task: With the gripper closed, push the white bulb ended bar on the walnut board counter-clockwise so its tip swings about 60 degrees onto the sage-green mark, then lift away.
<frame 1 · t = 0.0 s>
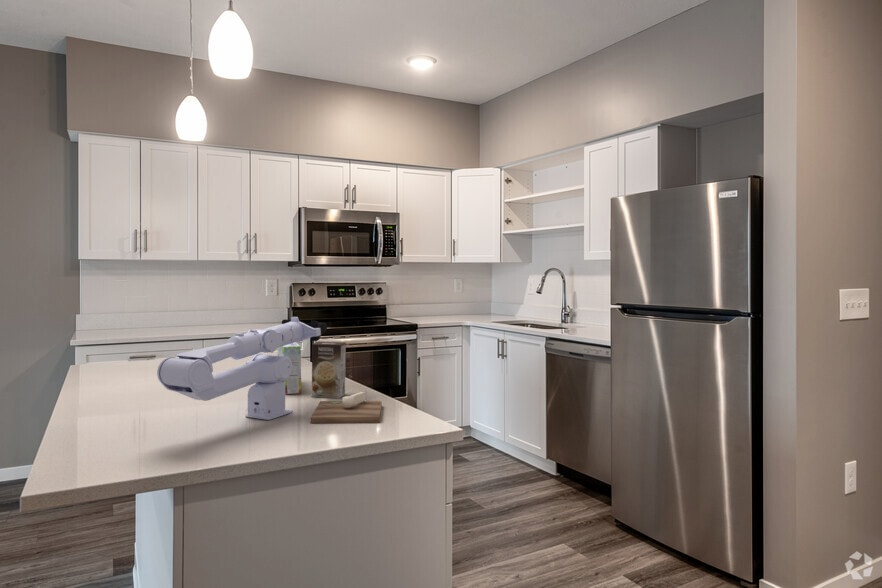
hand: (314, 326, 171), 22 cm above the worktop, tool horizontal, fingers open, 7 cm apart
white bulb ended bar: (355, 398, 159), point 3 cm above the worktop, hinge at 0.0°
coffee box: (328, 396, 178), on the worktop
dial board: (348, 414, 156), on the worktop
snack box: (289, 388, 189), on the worktop
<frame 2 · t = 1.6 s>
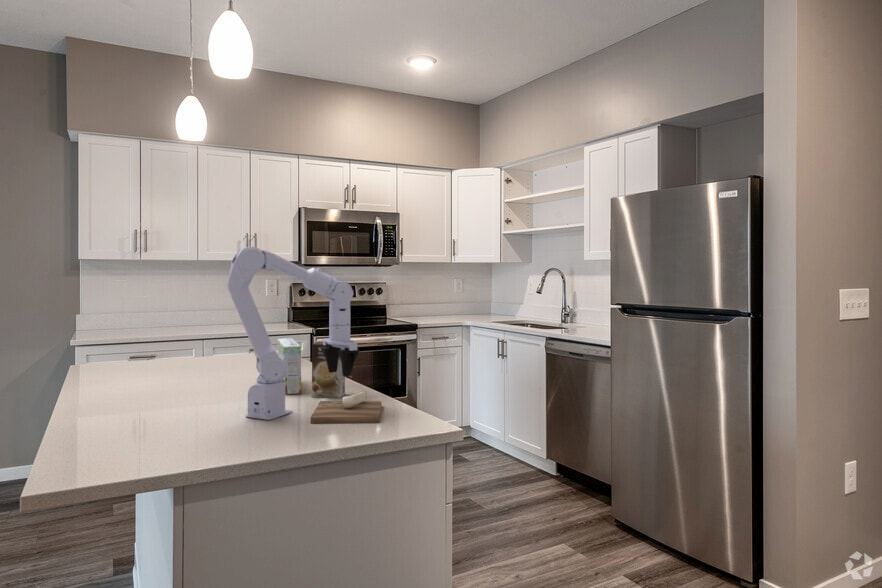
hand: (339, 373, 162), 9 cm above the worktop, tool pointing down, fingers open, 7 cm apart
nothing on the worktop moved.
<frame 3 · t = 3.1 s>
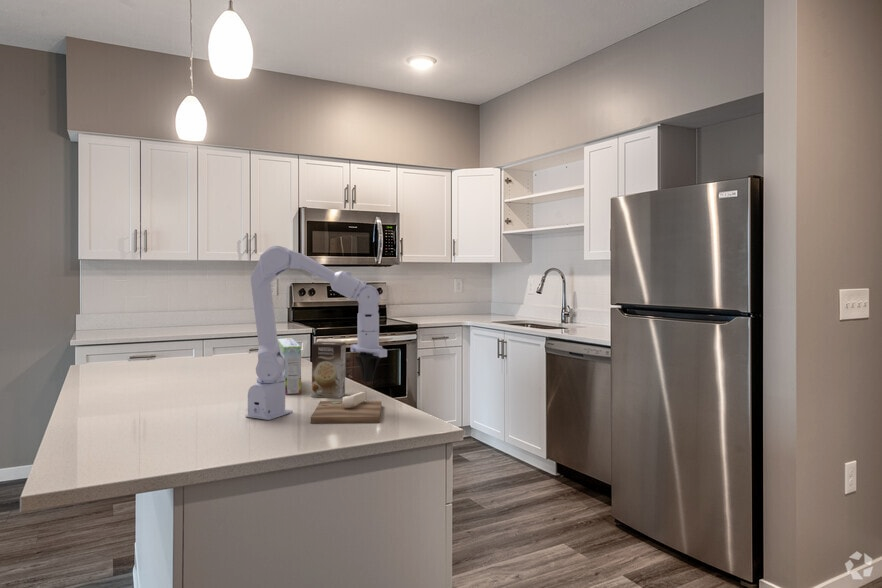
hand: (368, 381, 158), 8 cm above the worktop, tool pointing down, fingers closed
nothing on the worktop moved.
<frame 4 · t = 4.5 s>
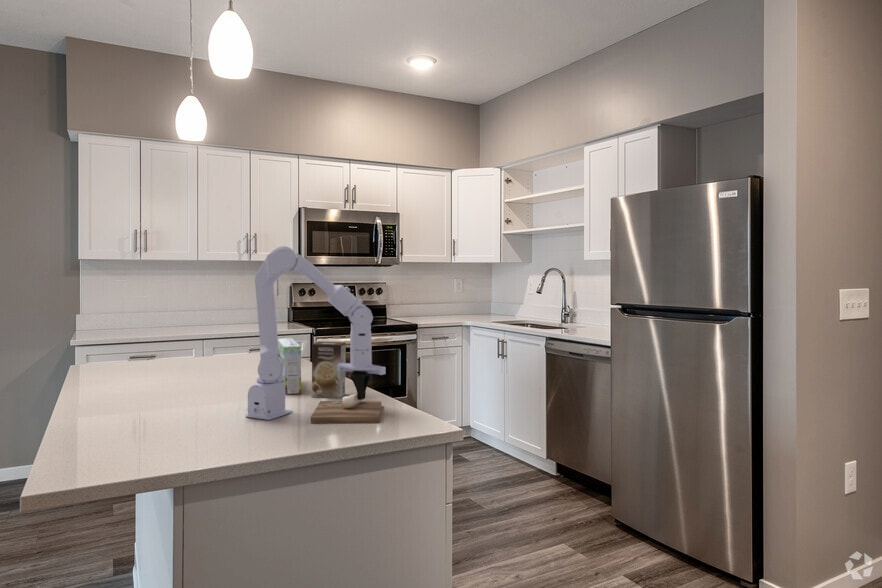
hand: (361, 399, 160), 3 cm above the worktop, tool pointing down, fingers closed, pressing on white bulb ended bar
white bulb ended bar: (354, 398, 159), point 3 cm above the worktop, hinge at 6.5°, touching gripper
everything else where it was.
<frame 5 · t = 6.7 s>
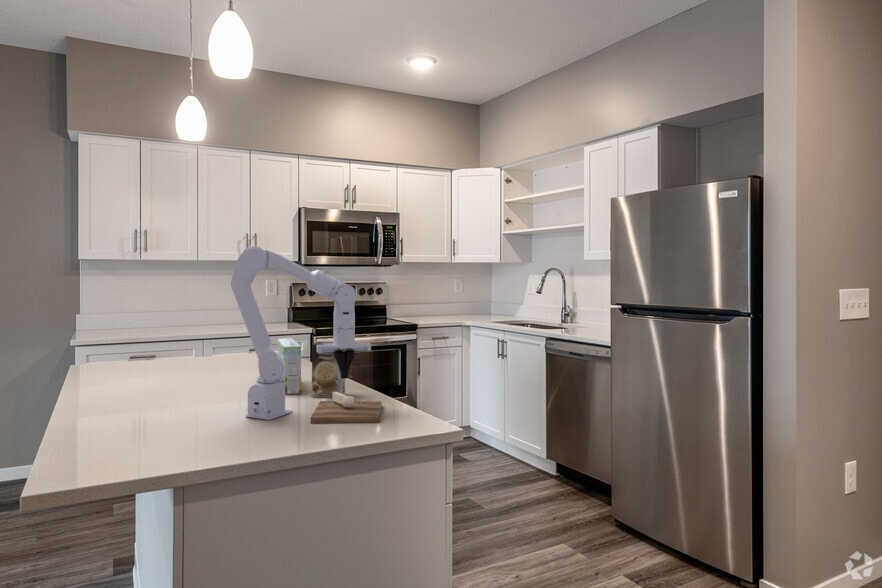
hand: (343, 378, 160), 9 cm above the worktop, tool pointing down, fingers closed
white bulb ended bar: (342, 399, 158), point 3 cm above the worktop, hinge at 60.9°
everything else where it was.
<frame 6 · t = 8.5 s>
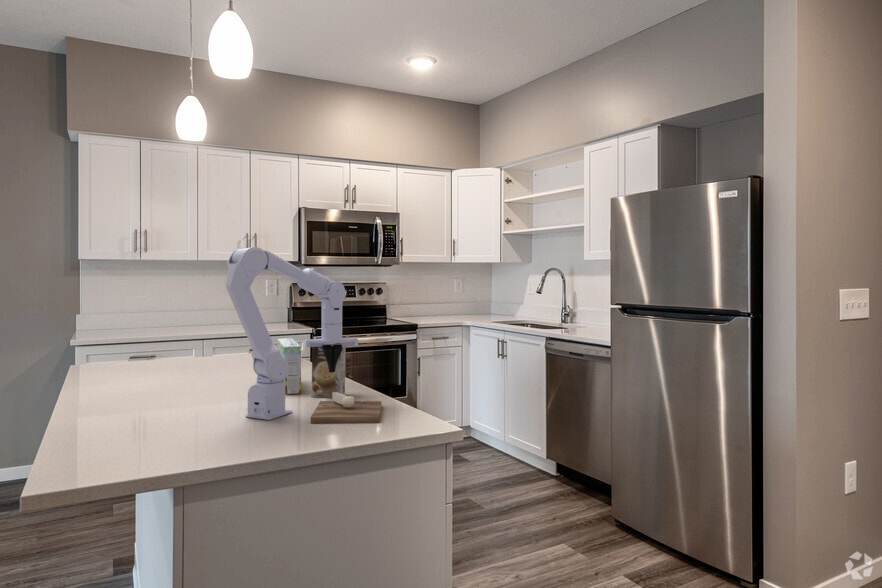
hand: (331, 371, 166), 9 cm above the worktop, tool pointing down, fingers closed
nothing on the worktop moved.
at the end: white bulb ended bar at +61° (first picture: +0°); the gripper is holding nothing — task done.
